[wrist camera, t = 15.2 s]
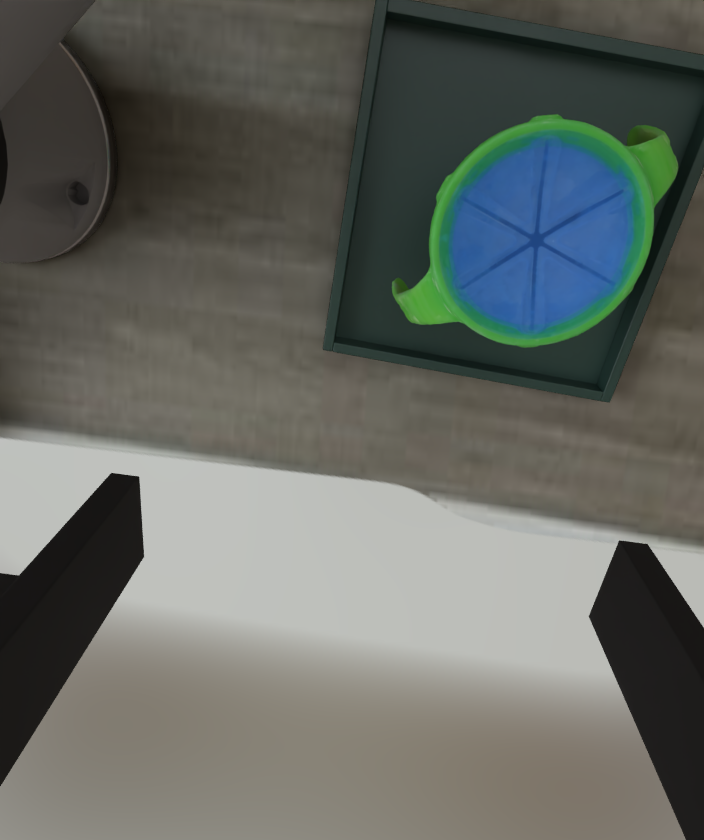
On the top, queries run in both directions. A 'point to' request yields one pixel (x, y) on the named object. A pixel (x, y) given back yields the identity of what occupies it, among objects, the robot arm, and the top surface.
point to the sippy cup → (541, 231)
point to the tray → (455, 139)
